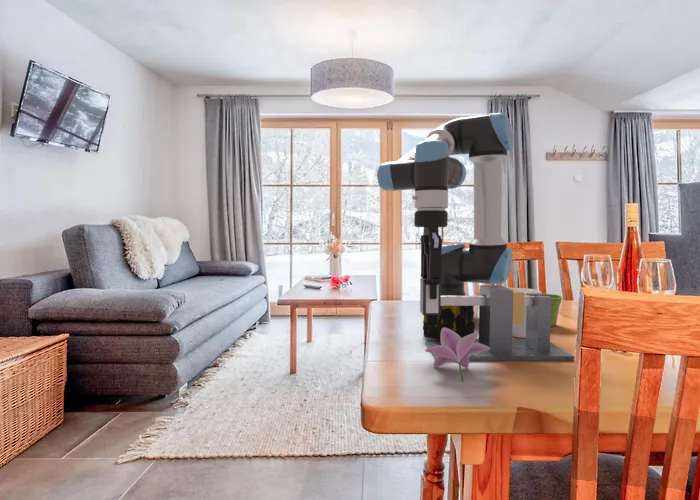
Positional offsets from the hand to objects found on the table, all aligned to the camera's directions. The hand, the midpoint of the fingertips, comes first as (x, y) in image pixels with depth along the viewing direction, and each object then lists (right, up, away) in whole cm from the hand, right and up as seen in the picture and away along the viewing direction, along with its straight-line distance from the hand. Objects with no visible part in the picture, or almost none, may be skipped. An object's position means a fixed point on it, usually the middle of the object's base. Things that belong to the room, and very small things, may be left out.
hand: (430, 310), depth 98 cm
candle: (+8, -9, +15) cm, 19 cm away
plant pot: (+40, -8, +28) cm, 50 cm away
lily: (+3, -11, -14) cm, 18 cm away
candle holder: (+28, -9, +16) cm, 33 cm away
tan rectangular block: (+19, -2, 0) cm, 19 cm away
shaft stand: (+15, -10, 0) cm, 18 cm away
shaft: (+11, -1, 0) cm, 11 cm away
